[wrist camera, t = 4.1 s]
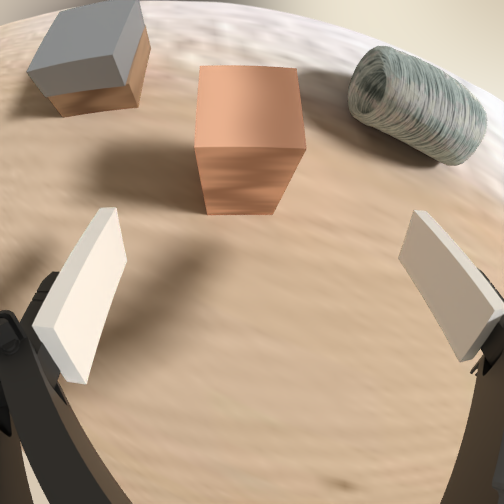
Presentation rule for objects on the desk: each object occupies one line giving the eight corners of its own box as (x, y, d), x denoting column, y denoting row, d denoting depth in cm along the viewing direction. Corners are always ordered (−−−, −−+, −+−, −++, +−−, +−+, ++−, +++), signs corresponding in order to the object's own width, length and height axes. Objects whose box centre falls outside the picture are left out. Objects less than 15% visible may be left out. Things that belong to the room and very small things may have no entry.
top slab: (45, 97, 21) (26, 72, 17) (72, 37, 22) (59, 11, 19) (125, 86, 22) (112, 54, 18) (145, 25, 23) (138, -4, 19)
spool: (325, 118, 23) (407, 28, 15) (331, 80, 29) (390, 13, 21) (437, 211, 26) (516, 151, 18) (423, 156, 32) (482, 105, 24)
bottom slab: (64, 119, 25) (47, 97, 21) (83, 61, 26) (71, 38, 22) (139, 109, 26) (129, 83, 22) (151, 50, 27) (145, 24, 23)
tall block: (207, 215, 24) (194, 147, 13) (208, 156, 25) (200, 66, 14) (272, 214, 25) (306, 148, 14) (270, 156, 25) (296, 68, 15)
